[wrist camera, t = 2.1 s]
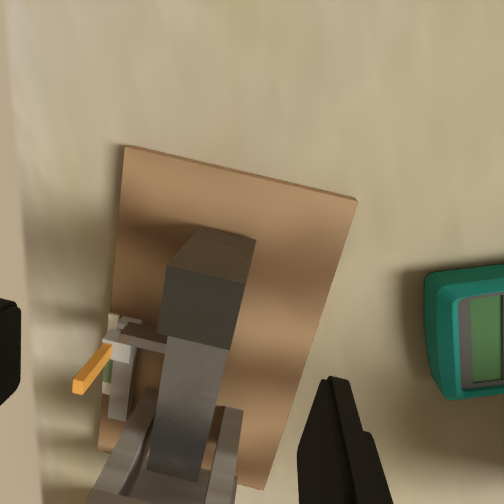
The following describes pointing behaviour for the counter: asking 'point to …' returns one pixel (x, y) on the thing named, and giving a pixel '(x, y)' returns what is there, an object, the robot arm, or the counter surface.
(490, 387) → the digital multimeter
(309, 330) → the base
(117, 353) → the needle
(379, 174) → the counter surface
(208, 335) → the plunger
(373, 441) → the robot arm
